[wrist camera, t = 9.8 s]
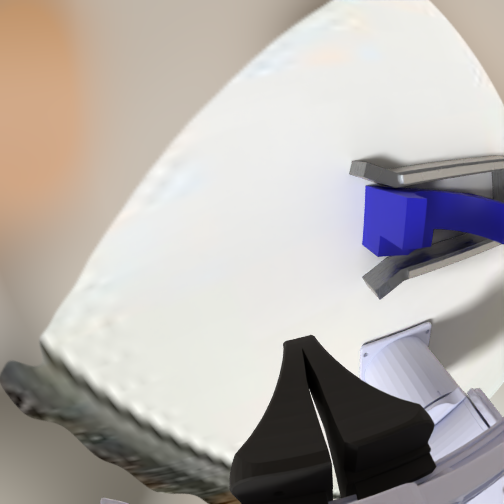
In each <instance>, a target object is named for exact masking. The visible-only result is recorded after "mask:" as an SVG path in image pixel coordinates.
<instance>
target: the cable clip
mask: <svg viewBox="0 0 504 504" xmlns="http://www.w3.org/2000/svg"><path fill="white" fill-rule="evenodd" d="M433 229H446V230H455V231H461V232H466V233H471V234H475V235H478V236H482V237H485V238H488V239H491V240H494V241H496V242H498V243H501V244H504V203H503V202H500V201H496V200H493V199H489V198H486V197H482V196H479V195H475V194H470V193H461V192H451V191H441V190H429V189H416V188H402V187H398V188H394V187H383V186H366V190H365V213H364V229H363V242H362V245H364V246H365V247H366V248H367V249H369V250H370V251H371V252H373V253H374V254H375V255H376V256H378V257H381V256H399V255H409V254H410V253H411V252H412V251H414V250H416V249H422V248H425V247H431V244H432V237H433Z"/></svg>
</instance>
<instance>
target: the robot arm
mask: <svg viewBox="0 0 504 504" xmlns="http://www.w3.org/2000/svg"><path fill="white" fill-rule="evenodd" d="M431 326H432V325H431V323H430V322H426V323H423V324H421V325H418V326H416V327H413V328H410V329H408V330H405V331H403V332H400V333H397V334H395V335H392V336H389V337H386V338H383V339H380V340H378V341H375V342H372V343H369V344H366V345H363V346H362V347H361V348H360V378H358V377H357V376H355V375H354V374H352V373H351V372H350V371H348V370H347V369H346V368H345V367H343V366H342V365H341V364H340V363H339V362H338V361H336V360H335V359H334V358H333V357H332V356H331V355H330V354H329V353H328V352H327V351H326V350H325V349H324V348H323V347H322V345H321V344H320V343H319V342H318V341H317V339H316V338H315V336H313V335H309V336H305V337H301V338H297V339H293V340H289V341H285V342H284V343H283V347H284V351H283V361H282V366H281V371H280V375H279V379H278V382H277V385H276V388H275V391H274V394H273V396H272V399H271V401H270V403H269V406H268V408H267V410H266V411H265V413H264V415H263V417H262V419H261V421H260V422H259V424H258V425H257V427H256V428H255V430H254V431H253V433H252V434H251V436H250V437H249V438H248V440H247V441H246V442H245V443H244V445H243V446H242V447H241V448H240V449H239V450H238V452H237V453H236V454H235V456H234V459H233V463H232V467H231V472H230V491H231V493H232V494H233V495H234V496H235V497H236V498H237V499H238V500H239V501H240V502H241V503H242V504H504V417H502V416H501V414H500V413H499V412H498V410H497V409H496V408H495V407H494V405H493V404H492V403H491V401H490V400H489V399H488V398H487V396H486V395H485V394H484V393H483V391H482V390H481V389H480V388H476V389H473V388H471V389H470V390H469V391H468V392H467V394H468V395H467V394H466V393H465V392H464V391H463V390H462V389H461V388H460V387H459V385H458V384H457V383H456V382H455V380H454V379H453V378H452V376H451V375H450V374H449V373H448V371H447V370H446V369H445V368H444V366H443V365H442V364H441V363H440V361H439V360H438V359H437V358H436V357H435V355H434V354H433V353H432V352H431V351H430V349H429V348H428V346H429V340H430V333H431ZM365 353H366V354H365ZM309 389H310V391H309ZM310 392H311V395H312V397H313V400H314V402H315V405H316V408H317V410H318V413H319V415H320V418H321V421H322V423H323V426H324V429H325V432H326V436H327V440H328V444H329V448H330V452H331V456H332V460H333V465H334V469H335V473H336V478H337V482H338V487H339V491H340V496H341V499H337V500H333V491H332V489H333V478H332V463H331V459H330V455H329V451H328V448H327V445H326V442H325V439H324V436H323V433H322V430H321V427H320V424H319V421H318V418H317V414H316V411H315V408H314V405H313V401H312V398H311V395H310ZM100 504H128V503H125V502H122V501H117V500H112V499H108V498H101V502H100Z"/></svg>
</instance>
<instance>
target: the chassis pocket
mask: <svg viewBox="0 0 504 504" xmlns="http://www.w3.org/2000/svg"><path fill="white" fill-rule="evenodd" d="M485 172H492V182H493V200H496V201H500V202H503V203H504V157H503V156H485V157H474V158H465V159H456V160H447V161H439V162H432V163H424V164H417V165H410V166H404V167H397V168H391V169H385V168H382V167H379V166H377V165H374V164H371V163H368V162H359V161H352V164H351V168H350V173H349V174H350V175H353V176H356V177H360V178H363V179H366V180H369V181H372V182H375V183H378V184H382V185H386V186H390V187H394V188H398V187H403V186H409V185H414V184H419V183H425V182H431V181H436V180H442V179H448V178H454V177H460V176H466V175H472V174H479V173H485ZM500 244H501V243H498V242H496V241H494V240H491V239H488V238H485V237H482V236H478V235H475V234H471V233H467V234H464V235H460V236H457V237H454V238H451V239H448V240H445V241H441V242H438V243H435V244H432V245H431V247H425V248H422V249H416V250H414V251H412V252H411V253H410V254H409V255H399V256H391V257H388V258H386V259H385V260H383V261H382V262H381V263H380V264H378V265H377V266H376V267H375V268H373V269H372V270H371V271H370V272H368V273H367V274H366V275H364V276H363V277H362V278H363V279H364V281H365V283H366V284H367V286H368V287H369V288H370V289H371V290H372V291H373V292H374V294H375V295H376V296H377V297H378V298H379V299H382V298H383V297H384V296H386V295H387V294H388V293H389V292H391V291H392V290H393V289H394V288H396V287H397V286H398V285H399V284H400V283H402V282H403V281H404V280H407V279H410V278H413V277H416V276H419V275H422V274H425V273H428V272H431V271H433V270H436V269H439V268H442V267H445V266H447V265H450V264H453V263H455V262H458V261H461V260H463V259H466V258H469V257H471V256H474V255H476V254H479V253H481V252H484V251H486V250H489V249H491V248H493V247H496V246H498V245H500Z"/></svg>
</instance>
